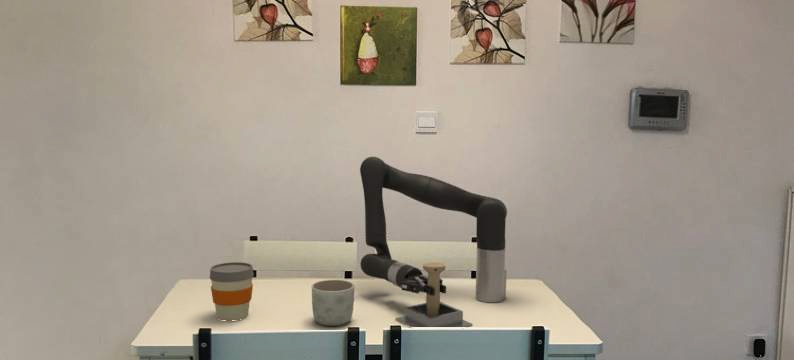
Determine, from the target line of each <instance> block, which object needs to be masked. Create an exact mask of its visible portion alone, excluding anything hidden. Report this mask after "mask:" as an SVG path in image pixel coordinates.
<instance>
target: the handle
mask: <svg viewBox="0 0 794 360" xmlns="http://www.w3.org/2000/svg"><path fill="white" fill-rule="evenodd" d="M422 269H423V271H425V272H426V273H427V276H428V284H427V285H428V286H431V287H433V288H435V295H434V296H431V295H429V294H427V293H425V294H426V296H425V297H426V298H425V301H426V302H425V303H426V306H427V314H428V316H433V317H434V316H437V315H438V312H439V311H438V310H439V304H440V302H441V292H440V279H441V277H440V276H441V273H442V272H444V271H445V270H446V264H445V263H443V262H442V263H439V262H426V263H423V265H422Z"/></svg>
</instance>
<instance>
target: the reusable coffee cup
mask: <svg viewBox="0 0 794 360" xmlns="http://www.w3.org/2000/svg"><path fill="white" fill-rule="evenodd" d="M209 269H210V270H209V271H210V272H209V279H210V282H211V286H210V292H211V297H212V303H213V304H214V305H215V306H214V308H215V314H216V319H217V318H218V319H220V320H226V321H232V320H239V321H241V320H240V319H243V318H245V319H246V317H247V316H249V309H250V302H251V300H252V297H253V289H254V288H253V287H254V284H253V278H254V267H253V265H252V264H251V263H249V262H241V261H240V262H239V261H238V262H236V261H233V262H223V263H218V264H215V265H212V266H211V267H210V268H209ZM247 318H248V317H247ZM218 319H217V320H218ZM220 320H219V321H220ZM243 320H244V319H243ZM226 321H225V322H226ZM232 322H233V321H232Z"/></svg>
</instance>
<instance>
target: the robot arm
mask: <svg viewBox="0 0 794 360" xmlns="http://www.w3.org/2000/svg"><path fill="white" fill-rule="evenodd" d="M359 173H360V177H361V184H362V189H363V198H364V224H365V229H364V231H365V244H366V246H368V247H371V248H374V249H375V251H376V253H367V254H365V255H363V257H362V258H361V259H360V265H359V266H360V269H361V271H362V273H364V274H365V275H366V276H369V277H372V278H375V279H376V278H377V279H380V280H381V279H382V280H385V281H386V282H388V283H392V285H394V286H395V287H398V288H399V289H401V291H404V292H409V293H413V294H420V293H421V294H429V295H431V296H434V295H435V288H433V287H431V286H428V285H427V284H428V275H425V274H423V272H422V270H421V269H420V268H418V267H416V266H412V265H410V264H408V263H405V262H400V261H398V260H396V259H392V255H391V252H390V248H389V244H388V241H387V222H386V221H387V219H386V214H385V207H384V198H383V189H387V190H391V191H394V192H397V193H400V194H402V195H403V196H406V197H408V198H410V199H413V200H414V201H417V202H419V203H422V204H425V205H427V206H430V207H434V208H435V209H440V210H446V211H451V212H452V211H453V212H460V213H463V214H465V215H469V216H472V217H474V218H476V229H475V230H476V232H475V233H476V235H475V236H476V265H475V266H476V271H475V273H476V274H475V299H476V300H477V301H480V302H483V303H500V302H503V300H505V299H506V298H507V274H508V273H507V269H505V268H506V267H505V265H506V221H507V220H506V219H507V215H508V210H507V209H508V208H507V206H506V204H505V203H504V202H503V201H502V200H500V199H498V198H495V197H490V196H485V195H480V194H477V193H474V192H470V191H468V190H465V189H463V188H461V187H458V186H456V185H453V184H451V183H449V182H445V181H443V180H442V179H438V178H435V177H432V176H429V175H423V174H417V173H410V172H406V171H403V170H401V169H398V168H396V167H393V166H391V165H390V164H387V163H386V162H385V161H384V160H383V159H381V158H380V157H377V156H368V157H366V158H365V159H363V161H362V163H361V165H360V168H359ZM446 293H447V286H446V285H445V284H443V279H442V278H440V294H446Z"/></svg>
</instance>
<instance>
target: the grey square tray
mask: <svg viewBox="0 0 794 360" xmlns="http://www.w3.org/2000/svg"><path fill="white" fill-rule="evenodd" d="M438 311H439V312H438V315H437V316H434V317H433V316H428V314H427V306H426V302H424V303H418V304H414V305H410V306H409V305H408V306H405V307H404V316H403V315H402V316H400V317H395V321H396V322H398V323H400V324H402V323H403V324H402V325H403V326H406V325H407V326H406V327H408V326H409V327H408V328H410V327H466V328H469V327H468V326H470V327H472V326H473V323H471V322H469V321H467V320H465V319H464V311H463V310H461V309H458V308H456V307H454V306H451V305H449V304H446V303H444V302H443V301H440V304H439V310H438Z"/></svg>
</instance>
